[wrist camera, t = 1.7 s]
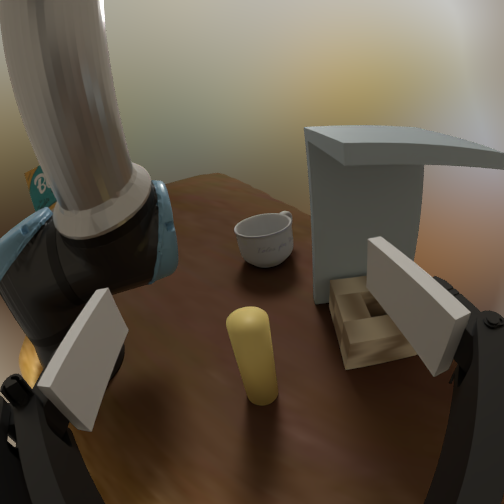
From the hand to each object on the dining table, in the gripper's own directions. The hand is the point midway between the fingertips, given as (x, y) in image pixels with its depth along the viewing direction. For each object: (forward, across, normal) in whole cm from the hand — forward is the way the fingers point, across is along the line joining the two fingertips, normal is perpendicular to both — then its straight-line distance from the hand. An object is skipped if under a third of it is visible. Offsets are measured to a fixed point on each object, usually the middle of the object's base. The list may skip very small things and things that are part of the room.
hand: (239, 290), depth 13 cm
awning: (+14, +16, -20) cm, 29 cm away
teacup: (+39, +5, -18) cm, 43 cm away
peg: (+9, -1, -20) cm, 21 cm away
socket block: (+14, +16, -20) cm, 29 cm away
